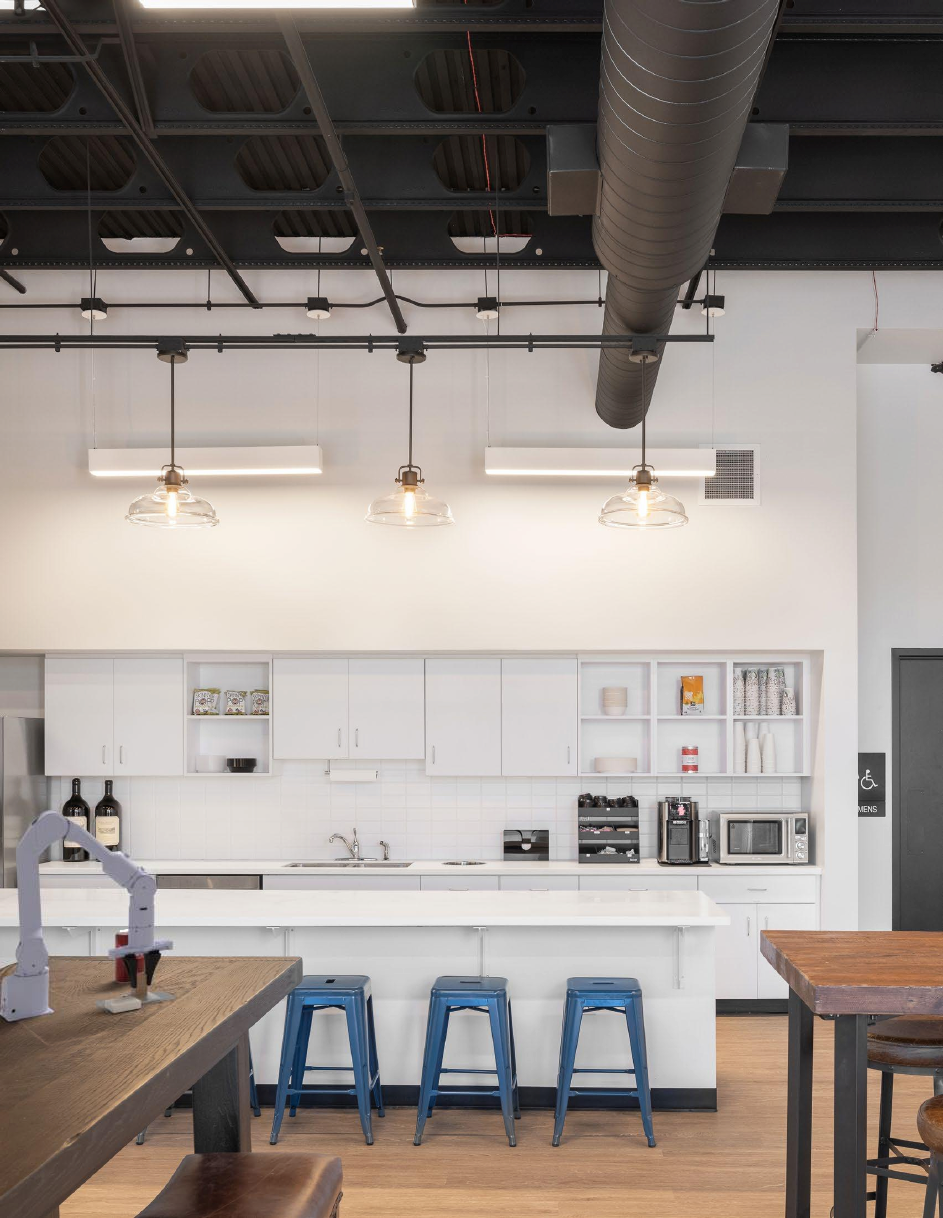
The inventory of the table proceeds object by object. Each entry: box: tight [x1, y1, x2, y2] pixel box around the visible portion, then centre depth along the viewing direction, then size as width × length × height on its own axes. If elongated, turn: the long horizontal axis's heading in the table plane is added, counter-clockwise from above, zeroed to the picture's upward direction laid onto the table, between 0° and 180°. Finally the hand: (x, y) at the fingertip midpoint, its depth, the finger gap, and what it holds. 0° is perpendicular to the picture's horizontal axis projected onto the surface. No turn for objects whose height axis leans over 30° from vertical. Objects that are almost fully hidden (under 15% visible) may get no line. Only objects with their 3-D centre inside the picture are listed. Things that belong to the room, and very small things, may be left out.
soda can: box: [114, 929, 145, 984], centre depth 253 cm, size 7×7×12 cm
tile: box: [105, 996, 142, 1014], centre depth 226 cm, size 6×2×6 cm
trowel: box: [123, 972, 161, 1004], centre depth 235 cm, size 10×5×5 cm, turn 38°
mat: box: [92, 989, 178, 1012], centre depth 233 cm, size 16×10×1 cm, turn 128°
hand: (140, 986), depth 236 cm, fingers closed on trowel, 3 cm apart
